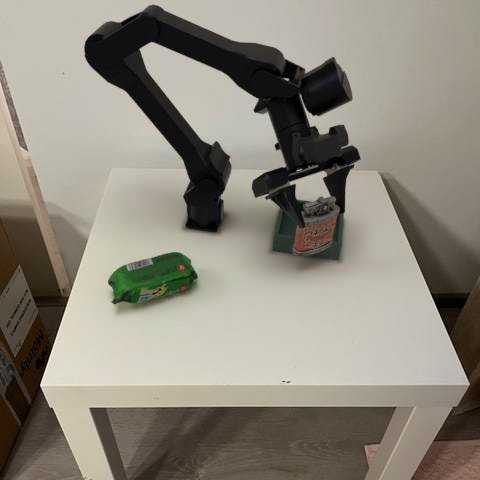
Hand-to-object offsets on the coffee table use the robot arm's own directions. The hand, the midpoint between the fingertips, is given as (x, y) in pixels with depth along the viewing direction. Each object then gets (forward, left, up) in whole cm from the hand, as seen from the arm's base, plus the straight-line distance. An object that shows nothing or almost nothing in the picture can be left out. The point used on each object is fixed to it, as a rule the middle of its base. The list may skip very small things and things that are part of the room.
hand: (323, 220), depth 81 cm
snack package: (-27, -11, -11) cm, 31 cm away
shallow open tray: (-2, +10, -11) cm, 15 cm away
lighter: (-1, +1, -7) cm, 7 cm away
